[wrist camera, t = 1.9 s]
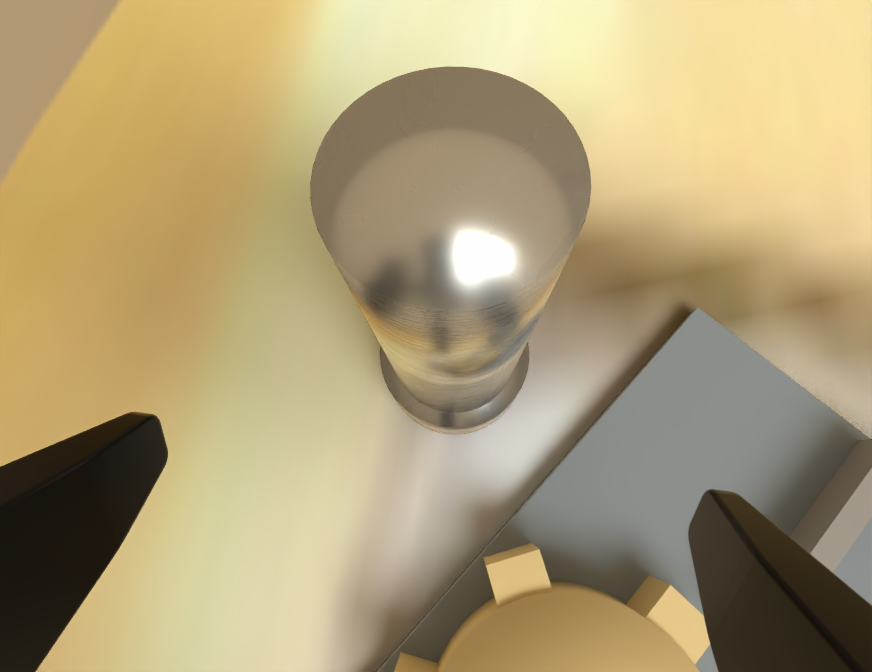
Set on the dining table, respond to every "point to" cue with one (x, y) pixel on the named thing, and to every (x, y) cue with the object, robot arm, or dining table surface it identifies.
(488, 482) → the dining table surface
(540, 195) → the chrome flanged cylinder
